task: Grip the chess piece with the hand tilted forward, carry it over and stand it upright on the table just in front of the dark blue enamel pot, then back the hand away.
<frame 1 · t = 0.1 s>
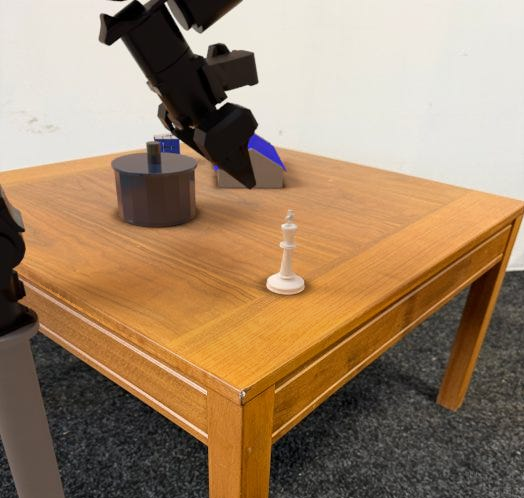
hand: (238, 176, 69), 12 cm above the table, tool tilted 35°, fingers open, 9 cm apart
pot: (158, 214, 92), on the table
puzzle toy: (168, 162, 121), on the table
toy house: (246, 173, 116), on the table
pot lid: (154, 165, 88), point 8 cm above the table, touching pot
chess piece: (285, 287, 71), on the table
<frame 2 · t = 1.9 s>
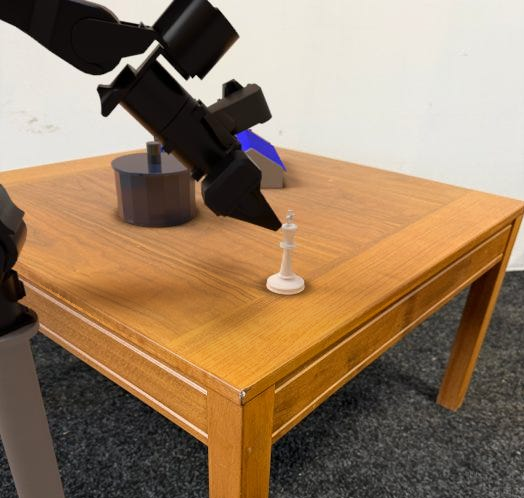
hand: (270, 214, 65), 10 cm above the table, tool tilted 45°, fingers open, 9 cm apart
nothing on the table moved.
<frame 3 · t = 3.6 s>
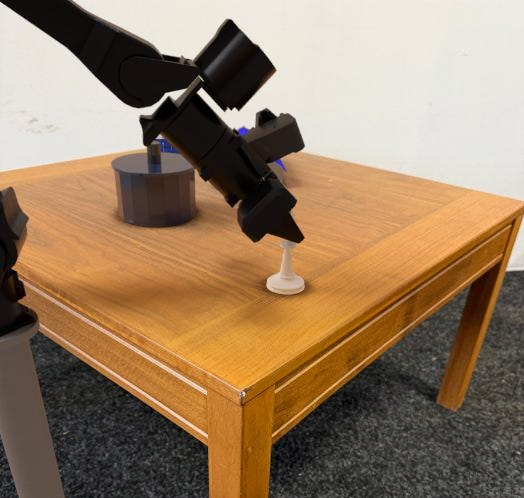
hand: (299, 237, 67), 7 cm above the table, tool tilted 45°, fingers closed on chess piece
chess piece: (285, 287, 71), on the table, touching gripper
everything else where it was.
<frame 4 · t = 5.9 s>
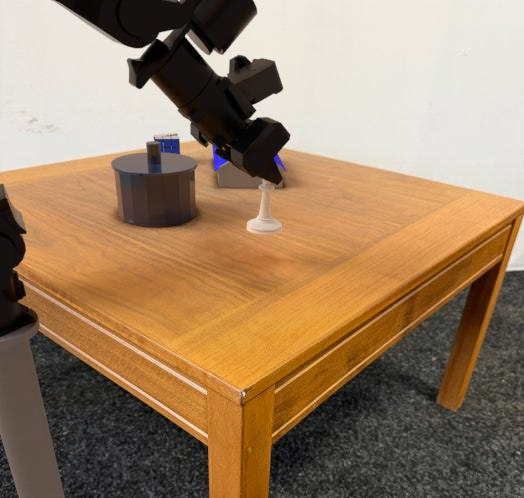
hand: (276, 179, 72), 11 cm above the table, tool tilted 45°, fingers closed on chess piece
chess piece: (264, 230, 75), point 4 cm above the table, touching gripper
everything else where it was.
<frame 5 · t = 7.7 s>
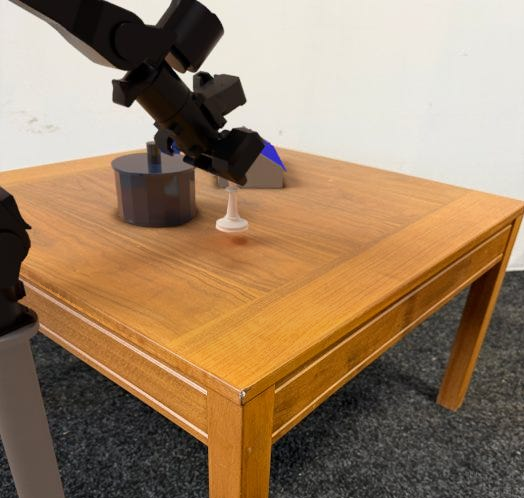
hand: (240, 181, 79), 9 cm above the table, tool tilted 45°, fingers closed on chess piece
chess piece: (232, 228, 82), point 2 cm above the table, touching gripper
everything else where it was.
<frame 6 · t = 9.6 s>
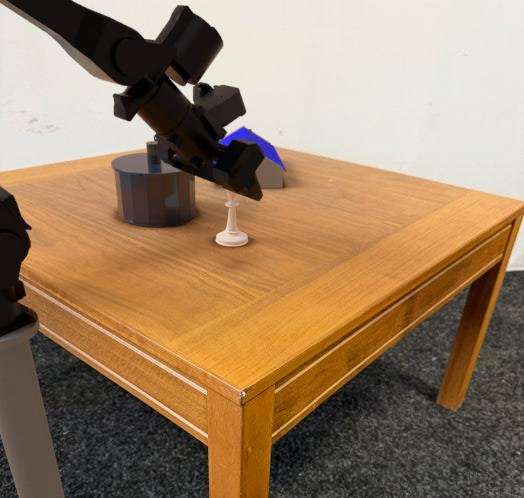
hand: (240, 190, 80), 7 cm above the table, tool tilted 45°, fingers open, 9 cm apart
chess piece: (231, 241, 83), on the table
everything else where it was.
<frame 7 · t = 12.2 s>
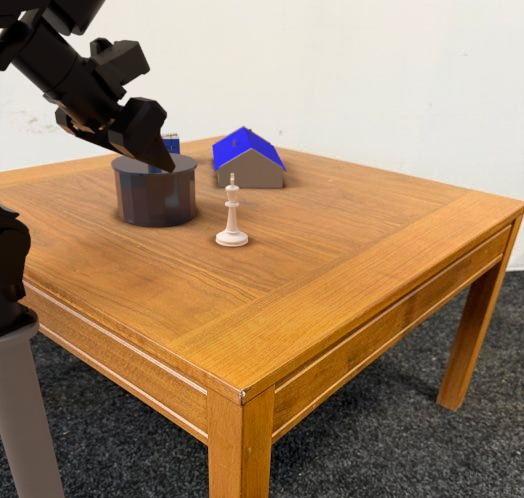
hand: (153, 162, 72), 13 cm above the table, tool tilted 45°, fingers open, 9 cm apart
nothing on the table moved.
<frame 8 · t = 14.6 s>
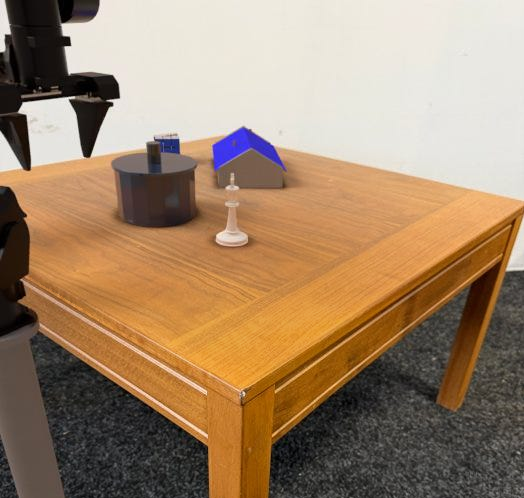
hand: (58, 163, 72), 12 cm above the table, tool pointing down, fingers open, 9 cm apart
nothing on the table moved.
at the end: chess piece inside the target area on the table beside the pot (1.7 cm from its centre), on the table; chess piece tilted 0°; the gripper is holding nothing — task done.
